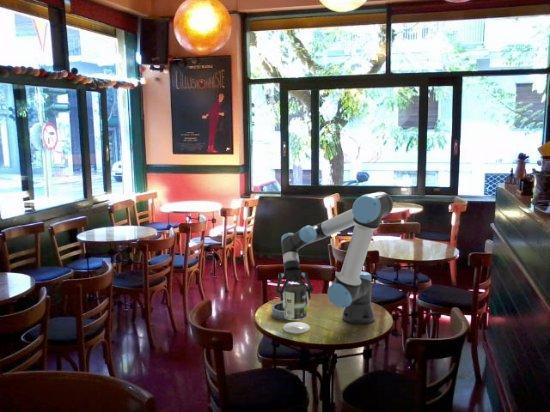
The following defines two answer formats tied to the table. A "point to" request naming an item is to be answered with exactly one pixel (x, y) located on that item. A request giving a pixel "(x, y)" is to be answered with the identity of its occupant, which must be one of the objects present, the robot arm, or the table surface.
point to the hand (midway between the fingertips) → (296, 306)
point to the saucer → (296, 327)
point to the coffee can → (295, 302)
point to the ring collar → (278, 311)
